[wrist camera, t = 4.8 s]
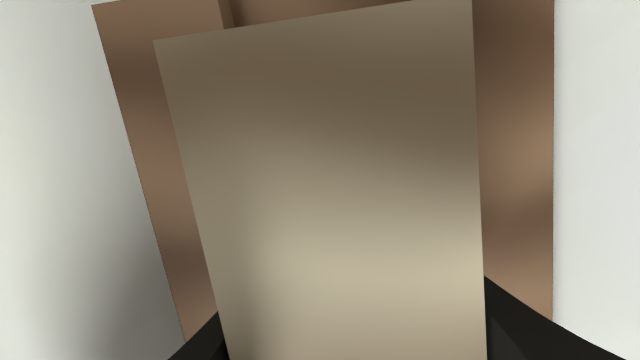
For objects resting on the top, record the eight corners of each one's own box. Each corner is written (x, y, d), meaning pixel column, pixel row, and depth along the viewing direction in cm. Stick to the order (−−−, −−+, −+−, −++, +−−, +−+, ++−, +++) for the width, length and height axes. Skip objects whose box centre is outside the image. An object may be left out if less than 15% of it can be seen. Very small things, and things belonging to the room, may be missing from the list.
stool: (230, 35, 13) (152, 40, 7) (408, 8, 13) (471, -9, 7) (305, 426, 17) (293, 622, 12) (441, 413, 17) (497, 608, 11)
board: (526, 395, 25) (551, 443, 22) (234, 423, 26) (221, 472, 23) (519, -56, 18) (554, -72, 15) (127, 8, 19) (91, 5, 16)
